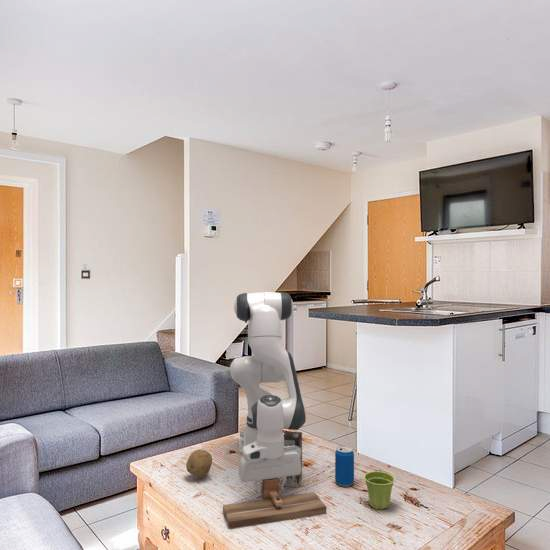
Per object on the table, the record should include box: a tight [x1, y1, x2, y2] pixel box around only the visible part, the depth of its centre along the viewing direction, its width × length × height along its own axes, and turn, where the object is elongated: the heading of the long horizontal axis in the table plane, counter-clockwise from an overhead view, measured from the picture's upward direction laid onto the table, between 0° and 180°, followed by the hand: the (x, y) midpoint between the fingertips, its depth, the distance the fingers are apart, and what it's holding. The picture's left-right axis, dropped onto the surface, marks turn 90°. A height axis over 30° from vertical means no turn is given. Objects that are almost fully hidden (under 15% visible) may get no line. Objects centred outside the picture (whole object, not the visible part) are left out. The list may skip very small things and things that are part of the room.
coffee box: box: [283, 431, 303, 488], centre depth 162 cm, size 9×6×16 cm
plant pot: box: [363, 470, 396, 510], centre depth 145 cm, size 9×9×9 cm
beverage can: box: [334, 445, 355, 488], centre depth 161 cm, size 6×6×12 cm
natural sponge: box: [185, 449, 213, 479], centre depth 165 cm, size 9×9×10 cm
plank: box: [222, 491, 327, 530], centre depth 141 cm, size 10×30×2 cm, turn 106°
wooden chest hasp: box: [261, 478, 283, 507], centre depth 144 cm, size 11×5×8 cm, turn 17°
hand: (270, 491), depth 148 cm, fingers closed on wooden chest hasp, 5 cm apart
